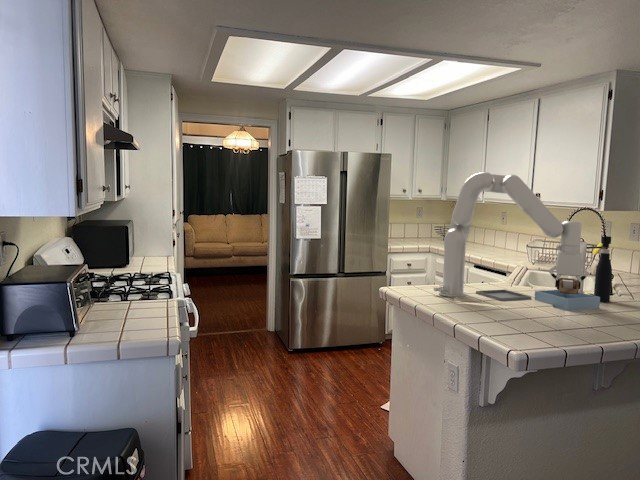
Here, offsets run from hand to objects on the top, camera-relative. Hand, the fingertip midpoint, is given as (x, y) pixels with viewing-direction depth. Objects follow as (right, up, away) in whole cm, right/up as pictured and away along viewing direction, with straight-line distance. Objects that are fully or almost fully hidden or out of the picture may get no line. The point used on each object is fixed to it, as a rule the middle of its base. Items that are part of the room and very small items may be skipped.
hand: (567, 289), depth 211 cm
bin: (0, -7, +1) cm, 7 cm away
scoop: (0, -1, 0) cm, 1 cm away
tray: (-24, -5, +12) cm, 27 cm away
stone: (0, 0, +1) cm, 1 cm away
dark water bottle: (+22, -7, +12) cm, 26 cm away
